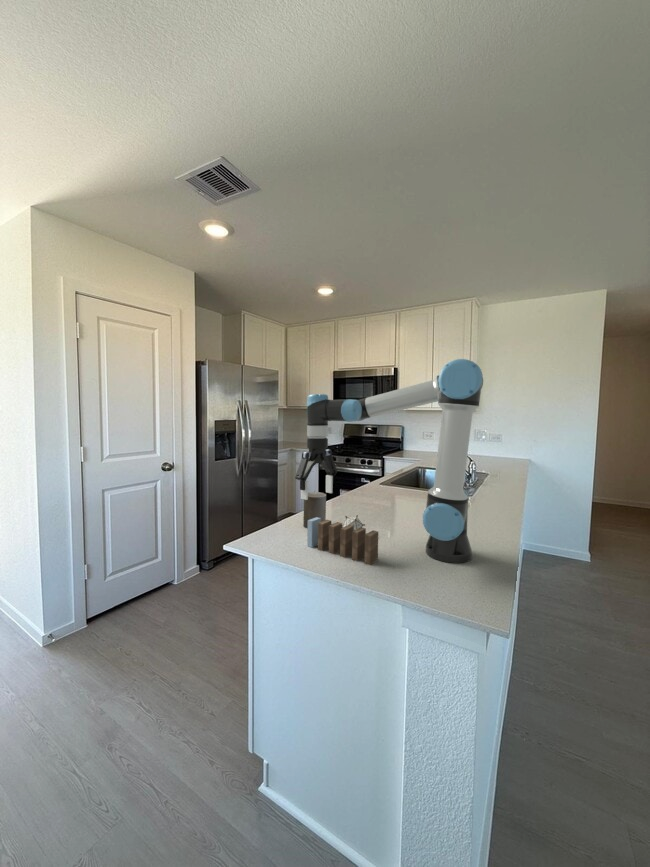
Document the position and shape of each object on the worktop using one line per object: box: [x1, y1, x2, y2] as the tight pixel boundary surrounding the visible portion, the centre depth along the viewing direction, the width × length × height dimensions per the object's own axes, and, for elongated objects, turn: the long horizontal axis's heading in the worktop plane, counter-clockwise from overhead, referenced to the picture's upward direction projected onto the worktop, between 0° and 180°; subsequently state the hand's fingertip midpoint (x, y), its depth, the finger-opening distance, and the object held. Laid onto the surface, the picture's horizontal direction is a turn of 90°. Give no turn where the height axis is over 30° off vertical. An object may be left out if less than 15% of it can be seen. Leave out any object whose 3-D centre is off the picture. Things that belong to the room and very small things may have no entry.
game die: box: [342, 514, 366, 530], centre depth 142 cm, size 9×8×10 cm
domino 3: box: [328, 521, 343, 555], centre depth 126 cm, size 2×5×10 cm, turn 143°
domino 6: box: [364, 530, 379, 566], centre depth 117 cm, size 2×5×10 cm, turn 143°
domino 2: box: [317, 519, 332, 552], centre depth 129 cm, size 2×5×10 cm, turn 143°
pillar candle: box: [302, 491, 327, 529], centre depth 154 cm, size 10×10×15 cm
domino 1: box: [306, 517, 321, 549], centre depth 132 cm, size 2×5×10 cm, turn 143°
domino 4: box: [339, 525, 354, 558], centre depth 123 cm, size 2×5×10 cm, turn 143°
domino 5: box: [351, 527, 367, 562], centre depth 120 cm, size 2×5×10 cm, turn 143°
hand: (317, 495), depth 130 cm, fingers open, 13 cm apart
